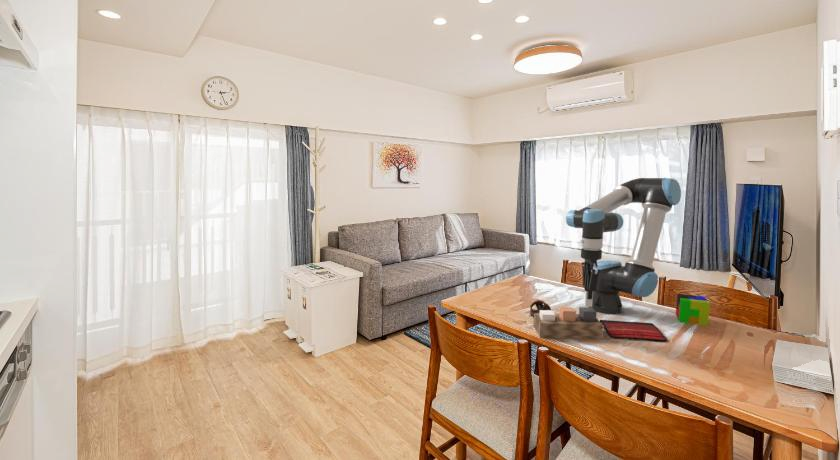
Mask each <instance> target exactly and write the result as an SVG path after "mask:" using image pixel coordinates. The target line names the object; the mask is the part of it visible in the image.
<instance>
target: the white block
mask: <svg viewBox="0 0 840 460" xmlns="http://www.w3.org/2000/svg"><path fill="white" fill-rule="evenodd" d="M554 313H555V312H554V311H553V310H552V309H551V310H540V313H539V318H540V319H541V321H555V314H556V313H555V314H554Z"/></svg>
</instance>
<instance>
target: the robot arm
mask: <svg viewBox="0 0 840 460" xmlns="http://www.w3.org/2000/svg"><path fill="white" fill-rule="evenodd" d="M681 189H682V188H681V185H680V183H679V182H678V180H677V179H675V178H671V177H670V178H667V177H640V178H636V179H635V178H634V179H631V180H629V181H626V182H623V183H621V184H620V185H617V186H616V187H614V189H613V190H612V191H611V192H609V193H608V194H606V195H603V196H602V197H601V198H599V199H597V200H596V201H593V202H592V203H590V204H588V205H586V206H585V207H583V208H581V209H578V210H577V209H573V210H572V209H571V210H569V211H568V212H567V213H566V216H565V222H566V225H568V226H569V227H570V228H575V229H581V230H582V231H581V232H582V233H581V240H580V243H581V250H580V257H581V258H582V259H584V261H583V262H581V269H582V273H581V274H582V287H583V288H584V296H583V297H584V299H583V306H584V307H592V308H593V309H594V310H595V311H596V312H597V313H602V314H610V315H612V314H613V315H614V314H620V313H622V312H623V303H622V299H621V296H620V292H621V293H625V294H629V295H632V296H634V297H641V298H648V297H649V296H651V295H652V294H653V293H654V292H655V291H656V289H657V287H658V283H659V276H658V274H657V273H656V272H655V271H656V270H655V267H654V266H653V263H654V259H655V254H656V251H657V249H658V243H659V241H660V236H661V233H662V229H663V225H664V222H665V218H666V215H667V213H668V212H670V211H671V210H672V207H673V206H677V205H678V204H679V203H680V201H681V196H682V190H681ZM633 203H634V204H635V203H637V204H641V207H642V208H643V212H642V215H641V220H640V224H639V227H638V231H637V233H636V238H635V242H634V246H633V248H632V252H631V256H630V259H629V260H627V261H625V263H624V265H622V262H621V261H618V260H601V259H602V257H603V256H602V255H603V254H602V253H603V250H602V249H603V244H604V243H603V242H604V233H608V232H609V233H610V232H616V231H619V230H621V228H622V227H623V226H624V218H623V216H622V215H621V214H620V213H617V212H613V211H615V210H616V209H619V208H620V207H621V206H626V205H629V204H633ZM599 260H600V261H599Z"/></svg>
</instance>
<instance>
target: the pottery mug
mask: <svg viewBox="0 0 840 460" xmlns="http://www.w3.org/2000/svg"><path fill="white" fill-rule="evenodd" d="M529 305H530V306H529V315H530V316H531V317H532V316H534V313H540V310H552V309H551V306H550V305H549V303H547V302H545V301H544V300H540V299H537V300H534V301H533V302H531V304H529ZM534 306H536V308H537V309H533V307H534Z"/></svg>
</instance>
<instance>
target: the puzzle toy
mask: <svg viewBox="0 0 840 460" xmlns="http://www.w3.org/2000/svg"><path fill="white" fill-rule="evenodd" d="M675 307H676V309H675V316H676V318H677V321H679V323H682V324H683V323H684V324H692V325H697V324H698V326H706V327H708V326H709V319H710V318H709V317H710V309H711V308H710V307H711V303H710V301H709V300H708V299H707V298H706V296H702V295H695V294H694V295H693V294H683V293H677V298H676V305H675Z"/></svg>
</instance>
